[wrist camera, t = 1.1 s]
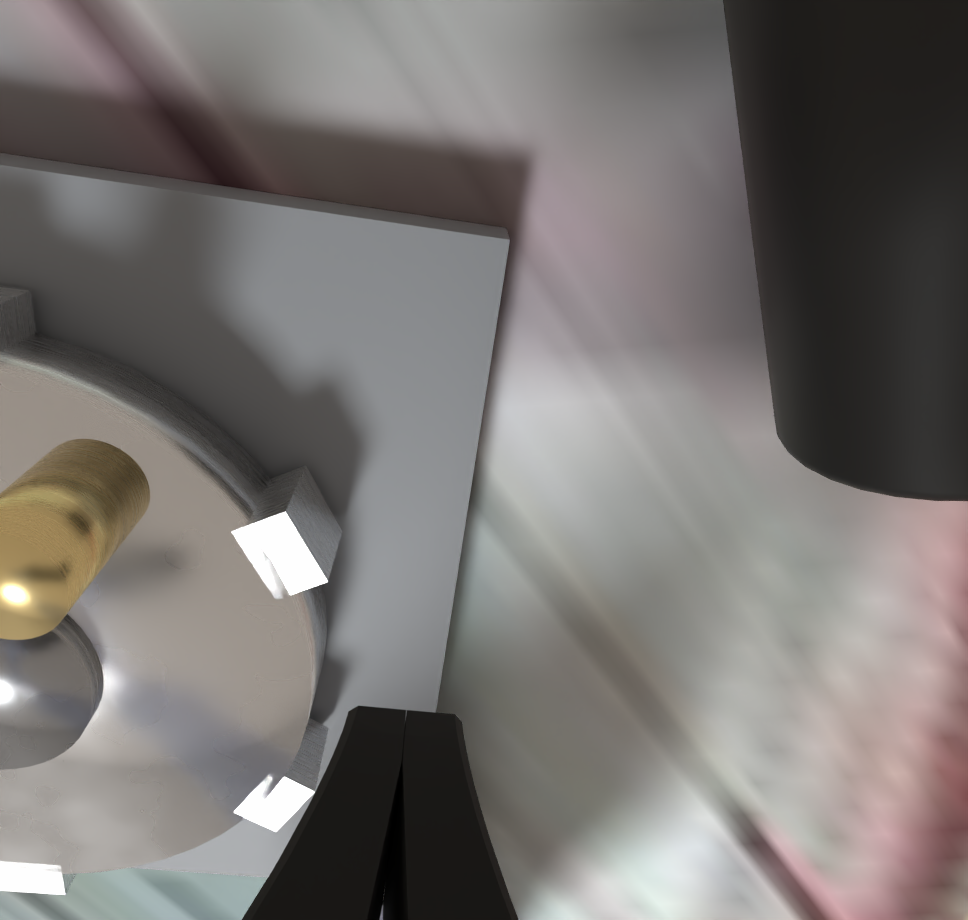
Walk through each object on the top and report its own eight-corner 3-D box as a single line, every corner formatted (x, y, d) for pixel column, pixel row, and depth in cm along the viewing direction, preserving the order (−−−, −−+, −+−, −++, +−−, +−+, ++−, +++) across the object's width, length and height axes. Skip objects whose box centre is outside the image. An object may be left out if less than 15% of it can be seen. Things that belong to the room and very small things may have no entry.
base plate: (411, 843, 24) (408, 890, 23) (-231, 795, 23) (-278, 842, 21) (505, 228, 16) (510, 241, 14) (-528, 74, 14) (-642, 71, 12)
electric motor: (650, -105, 13) (807, -279, 7) (1059, -247, 12) (1628, -580, 6) (726, 391, 17) (864, 546, 11) (1033, 308, 17) (1356, 426, 11)
